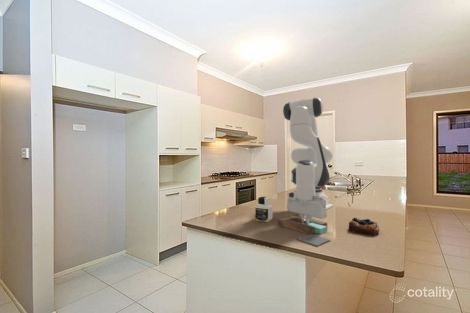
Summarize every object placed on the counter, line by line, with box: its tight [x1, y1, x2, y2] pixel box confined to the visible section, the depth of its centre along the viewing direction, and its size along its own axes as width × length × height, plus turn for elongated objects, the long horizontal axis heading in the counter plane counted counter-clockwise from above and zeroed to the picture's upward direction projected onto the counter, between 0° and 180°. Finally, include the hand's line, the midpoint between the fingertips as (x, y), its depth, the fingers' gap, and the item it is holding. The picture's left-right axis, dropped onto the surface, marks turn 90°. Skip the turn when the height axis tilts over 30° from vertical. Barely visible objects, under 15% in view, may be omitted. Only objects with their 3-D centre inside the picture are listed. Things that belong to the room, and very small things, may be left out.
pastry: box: [348, 217, 380, 236], centre depth 107 cm, size 11×12×6 cm
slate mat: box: [297, 233, 331, 247], centre depth 96 cm, size 9×9×1 cm
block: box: [306, 223, 328, 235], centre depth 108 cm, size 5×8×2 cm, turn 37°
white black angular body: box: [254, 196, 273, 223], centre depth 127 cm, size 7×7×12 cm
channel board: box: [277, 214, 328, 235], centre depth 115 cm, size 14×18×2 cm
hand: (305, 224), depth 113 cm, fingers closed
